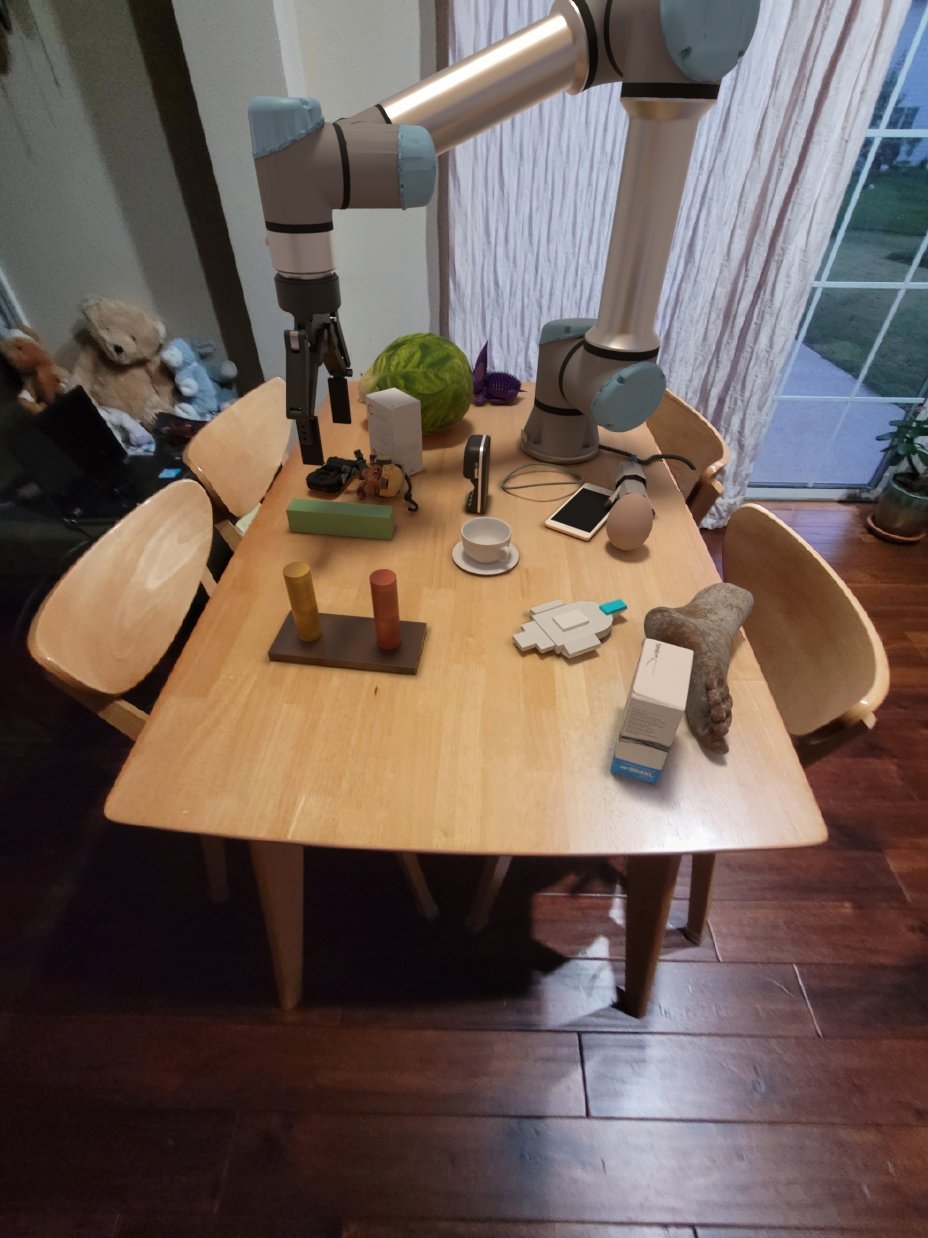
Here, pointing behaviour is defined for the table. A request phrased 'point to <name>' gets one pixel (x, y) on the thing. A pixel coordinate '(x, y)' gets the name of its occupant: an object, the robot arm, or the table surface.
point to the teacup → (485, 546)
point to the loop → (541, 483)
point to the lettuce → (424, 378)
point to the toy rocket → (568, 626)
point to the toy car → (330, 475)
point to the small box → (396, 427)
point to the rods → (347, 629)
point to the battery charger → (477, 470)
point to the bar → (341, 518)
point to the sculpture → (705, 653)
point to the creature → (493, 382)
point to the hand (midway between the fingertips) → (328, 442)
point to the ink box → (652, 710)
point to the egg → (629, 522)
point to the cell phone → (583, 512)
